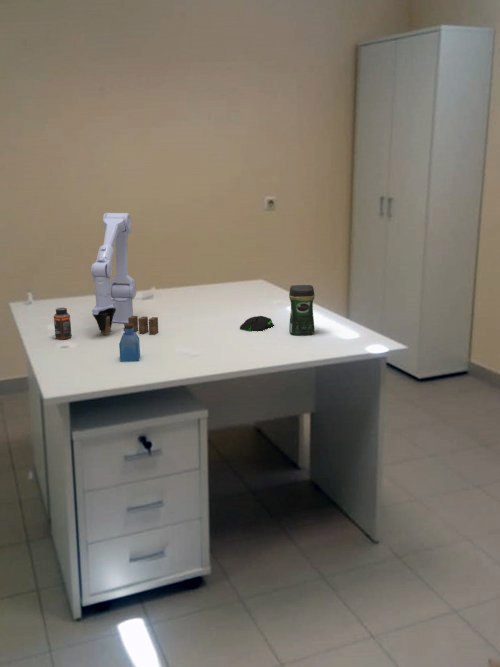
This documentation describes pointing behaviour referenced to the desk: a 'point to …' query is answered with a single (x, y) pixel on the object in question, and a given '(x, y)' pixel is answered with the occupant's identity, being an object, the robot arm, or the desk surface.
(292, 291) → the coffee jar
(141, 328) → the domino
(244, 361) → the desk surface
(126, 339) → the perfume bottle
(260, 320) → the computer mouse
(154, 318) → the domino
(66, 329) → the supplement bottle
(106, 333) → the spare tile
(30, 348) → the desk surface
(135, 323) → the domino
